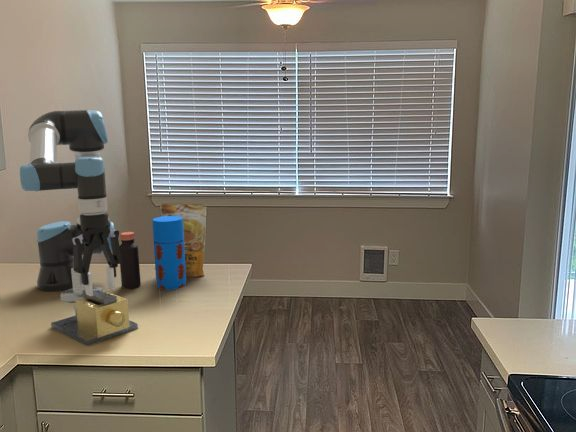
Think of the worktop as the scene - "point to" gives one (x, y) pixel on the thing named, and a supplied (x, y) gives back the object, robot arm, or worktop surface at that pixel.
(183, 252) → the thermos
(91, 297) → the grey slab block
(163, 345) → the worktop surface
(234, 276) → the worktop surface
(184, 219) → the pancake mix bag
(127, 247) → the bottle
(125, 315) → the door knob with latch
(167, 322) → the worktop surface
